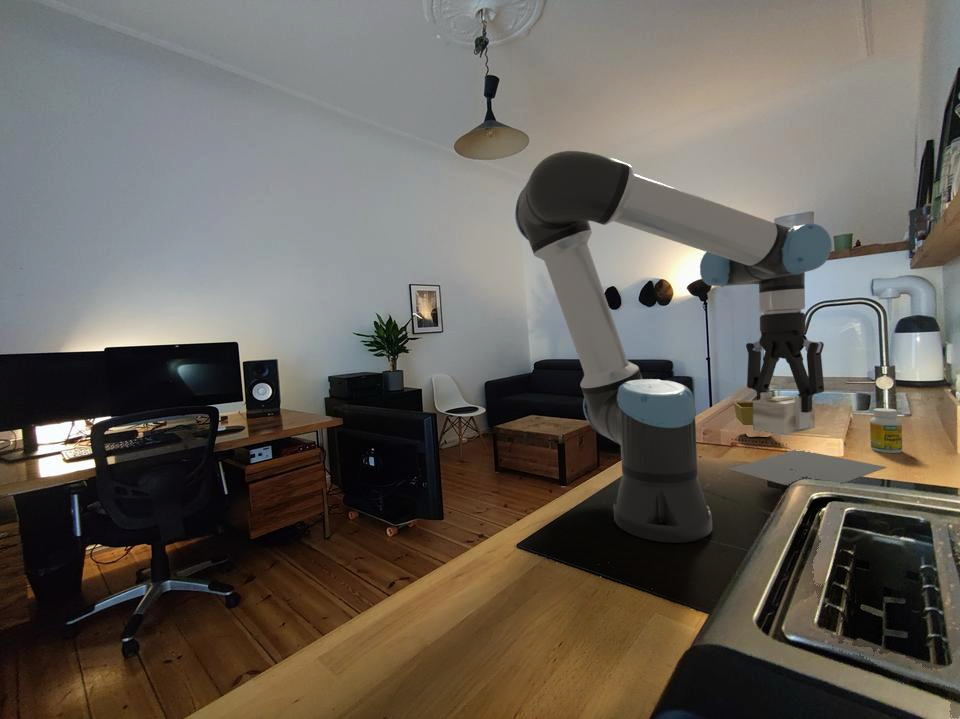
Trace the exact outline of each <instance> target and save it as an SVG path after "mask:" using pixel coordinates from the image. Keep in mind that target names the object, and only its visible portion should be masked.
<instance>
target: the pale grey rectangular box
mask: <svg viewBox="0 0 960 719" xmlns="http://www.w3.org/2000/svg"><path fill="white" fill-rule="evenodd" d="M752 402H753V429H754V430H760V431H765V432H771V433H772V434H778V435H783V436H784V435H790V434H794V433H798V432H802V431H808V430H811V429H815V428H816V427H815V423H816V422H815V420H816V417H815V398H812V411H811V412H808V428H804V429H796V420H795V396H790V395H779V396H772V398H766V399H760V400H757V399H755V400H752Z"/></svg>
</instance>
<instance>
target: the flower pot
mask: <svg viewBox="0 0 960 719" xmlns="http://www.w3.org/2000/svg"><path fill="white" fill-rule="evenodd" d="M733 406H734V410H735V417H736V420H737V419H738V420H739V421H740V422H741V423H742V424H743V425H753V401H735V402H733Z"/></svg>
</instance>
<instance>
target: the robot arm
mask: <svg viewBox="0 0 960 719" xmlns="http://www.w3.org/2000/svg"><path fill="white" fill-rule="evenodd" d="M514 212H515V213H514V215H515V217H514V218H515V223H516V226H517V229H518V231H519V232H520V234H521V235H522V236H523V238H525V239H526V240H527V241H528V243H529V245H530V248H531V251H532V253H533V256H534V257H535V258H538V259H539V260H540V259H541V260H542V261H544V265H545V266H546V270H547V272H548V275H549V278H550V281H551V283H552V286H553V289H554V292H555V295H556V297H557V301H558V304H559V306H560V308H561V309H560V310H561V312H562V314H563V317H564V320H565V322H566V323H565V324H566V326H567V329H568V331H569V334H570V337H571V340H572V343H573V346H574V348H575V352H576V354H577V357H578V359H579V362H580V366H581V368H582V371H583V374H584V375H583V378H582V379H581V381H580V388H581V391H582V394H583V396H584V397H583V403H582V407H583V413H584V416H585V419H586V420H587V422H588V424H590V426H591V427H592V428H593V429H594V430H595V431H596V432H597V433H598V434H600V435H601V436H603V437H606V438H607V439H609V440H610V441H613V442H614V443H617V445H620V461H621V474H622V475H621V478H620V483H619V486H618V492H617V497H616V499H614V503H613V520H614V523H615V524H616V525H617V527H618V528H620V529H621V530H623V531H624V532H626V533H628V534H630V535H632V536H635V537H636V538H637V537H638V538H641V539H643V540H649V541H654V542H659V543H675V544H676V543H681V544H682V543H689V542H694V541H699V540H702V539H704V538H706V537H707V536H709V535H710V534H711V533H712V531H713V519H712V518H713V517H712V516H713V515H712V511H711V509H710V507H709V505H707V501H706V499H705V495H704V493H703V490H702V487H701V484H700V482H699V478H698V477H699V476H698V475H699V474H698V456H697V455H698V454H697V452H698V451H697V450H698V449H697V434H696V433H697V432H696V431H697V428H696V416H697V410H696V405H695V399H694V395H693V392H692V391H691V389H689V388H688V386H686V385H684V384H682V383H680V382H679V383H678V382H676V381H672V380H661V379H658V378H657V379H653V378H649V379H648V378H646V379H645V378H644V379H643V376H642V373H641V371H640V368H639V366H638V365H637V364H634V363H632V362H631V361H629V360H628V357H627V356H626V352H625V350H624V347H623V346H624V345H623V344H622V341H621V338H620V334H619V332H618V330H617V327H616V324H615V320H614V318H613V315H612V311H611V309H610V306H609V303H608V301H607V297H606V294H605V291H604V289H603V286H602V283H601V280H600V278H599V274H598V272H597V271H598V270H597V269H596V266H595V262H594V259H593V257H592V254H591V250H590V248H589V245H588V242H589V240H590V237H591V235H592V233H593V231H592V228H591V225H590V223H589V222H594V223H597V224H600V225H603V226H606V225H608V224H610V223H612V222H615V223H618V224H621V225H623V226H627V227H630V228H632V229H636V230H639V231H641V232H645V233H648V234H652V235H655V236H657V237H661V238H664V239H666V240H669V241H672V242H676V243H678V244H682V245H685V246H688V247H691V248H694V249H697V250H700V251H703V252H705V253H704V255H703V256H702V257H701V260H700V264H699V268H700V269H699V273H700V276H701V277H700V278H701V279H702V282H703V283H705V284H706V285H707V286H711V287H722V288H723V287H726V286H727V287H728V286H742V285H745V286H747V285H758V297H759V298H758V300H759V305H758V307H759V308H758V309H759V312H760V313H762V314H761V315H760V316H759V331H760V333H761V334H760V338H759V339H758V341H755V342H747V343H746V345H745V347H746V351H747V353H748V357H747V378H746V379H747V380H746V387H747V388H748V389H752V390H755V392H756V400H760V399H766V398H772V397H773V391H770V390H771V388H769V387H770V384H771V381H772V379H773V375H774V373H775V369H776V366H777V364H778V362H779V361H780V359H783V360H784V359H785V362H786V363H788V365H789V368H790V371H791V374H792V376H793V379H794V383H795V384H796V388H797V390H798V394H796V395H794V397H795V420H796V429H804V428H808V412H811V411H812V399H813V396H814V395H816V394H822V393H823V392H824V391H825V384H824V383H825V382H824V374H823V372H824V371H823V361H822V352H823V350H824V349H823V348H824V347H825V344H824V342H823V341H812V340H809V339H808V338H807V336H806V335H805V332H806V313H804V312H802V310H804V309H805V308H806V292H805V291H806V290H805V289H806V288H805V286H806V284H805V283H806V282H805V281H806V280H805V278H806V274H805V273H806V272H810V271H814V270H817V269H819V268H820V267H822V266H823V265H824V264H825V263H826V262H827V261H828V259H829V258H830V255H831V251H832V248H833V244H832V239H831V236H830V234H829V232H828V230H826V229H825V227H823V226H822V225H819V224H817V223H805V224H797V225H794V226H792V227H787V226H784V225H782V224H778V223H775V222H773V221H770V220H767V219H764V218H761V217H758V216H755V215H752V214H750V213H747V212H744V211H742V210H738V209H735V208H732V207H730V206H726V205H724V204H721V203H717V202H715V201H712V200H710V199H707V198H704V197H700V196H698V195H695V194H693V193H690V192H686V191H684V190H681V189H678V188H675V187H672V186H670V185H666V184H664V183H661V182H658V181H655V180H653V179H649V178H647V177H643V176H641V175H639V174H636V173H634V171H633V168H632V165H630V164H628V163H626V162H623V161H621V160H618V159H614V158H612V157H608V156H605V155H601V154H597V153H593V152H587V151H578V150H565V151H559V152H555V153H553V154H550V155H549V156H547V157H545V158H544V159H542V160H541V161H540V162H539V163H538V164H537V165H536V167H535V168H534V169H533V170H532V172H531V174H530V177H529V179H528V181H527V183H526V184H525V186H524V187H523V189H522V190H521V191H520V193H519V196H518V198H517V200H516V206H515V211H514ZM804 348H805V351H806V363H807V364H806V365H807V370H806V367H805V365H804V362H803V361H804V357H803V354H802V352H801V351H802V350H803V349H804ZM762 350H763V351H764V355H763V359H762ZM761 361H763V364H762V362H761ZM761 364H762V366H761Z"/></svg>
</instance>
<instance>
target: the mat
mask: <svg viewBox="0 0 960 719" xmlns="http://www.w3.org/2000/svg"><path fill="white" fill-rule="evenodd" d="M805 451H806V450H803V451H796V449H793V450H789V451H787V452H786V451H785V452H783V453H779V454H776V455H772V456H769V457H768V456H767V457H766V458H762V459H757V460H754V461H751V462H748V463H744V464H740V465H737V466H733V467H730V468H727V470H729V471H732V472H735V473H738V474H743V475H745V476H750V477H754V478H758V479H762V480H765V481H769V482H772V483H776V484H780V485H783V486H786V485H787V487H789V486H788V485H789V484H791V483H792V482H794V481H796V480H799V479H802V478H801V477H806V476H807V477H808V478H811V479H821V480H830V481H837V482H843V483H842V484H845V483H847V482H850V481H852V480H857V479H858V478H862V477H864V476H866V475H870V474H873V473H875V472H877V471H880V470H883V469H886V468H887V466H885V465H884V466H883V465H878V464H874V463H868V462H862V461H858V460H853V459H848V458H844V457H838V456H832V455H827V454H822V453H819V452H818V453H817V452H813V453H811V452H812V451H808V452H805ZM790 469H793V470H790ZM795 470H796V471H795Z"/></svg>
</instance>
